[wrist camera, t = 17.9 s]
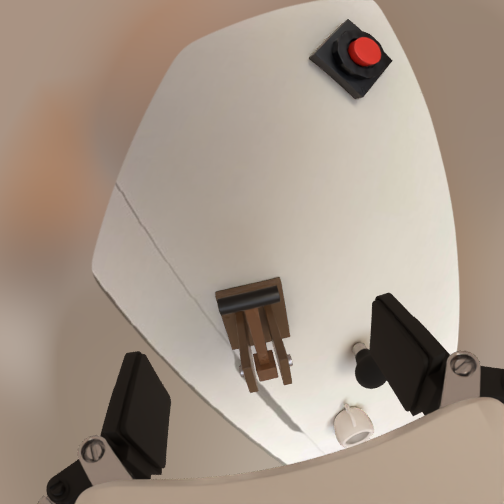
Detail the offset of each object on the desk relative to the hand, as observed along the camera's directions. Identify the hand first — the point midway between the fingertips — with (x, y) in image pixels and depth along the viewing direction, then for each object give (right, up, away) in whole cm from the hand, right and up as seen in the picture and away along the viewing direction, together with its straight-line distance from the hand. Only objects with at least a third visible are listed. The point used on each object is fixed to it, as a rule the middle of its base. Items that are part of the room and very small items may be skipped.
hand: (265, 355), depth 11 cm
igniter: (+12, +29, +18) cm, 36 cm away
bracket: (0, -5, +31) cm, 31 cm away
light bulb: (+18, -12, +36) cm, 42 cm away
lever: (0, -4, +18) cm, 18 cm away
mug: (+21, -32, +44) cm, 58 cm away
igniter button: (+12, +28, +15) cm, 34 cm away
